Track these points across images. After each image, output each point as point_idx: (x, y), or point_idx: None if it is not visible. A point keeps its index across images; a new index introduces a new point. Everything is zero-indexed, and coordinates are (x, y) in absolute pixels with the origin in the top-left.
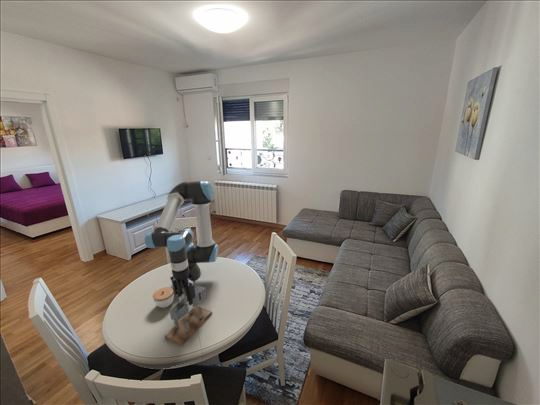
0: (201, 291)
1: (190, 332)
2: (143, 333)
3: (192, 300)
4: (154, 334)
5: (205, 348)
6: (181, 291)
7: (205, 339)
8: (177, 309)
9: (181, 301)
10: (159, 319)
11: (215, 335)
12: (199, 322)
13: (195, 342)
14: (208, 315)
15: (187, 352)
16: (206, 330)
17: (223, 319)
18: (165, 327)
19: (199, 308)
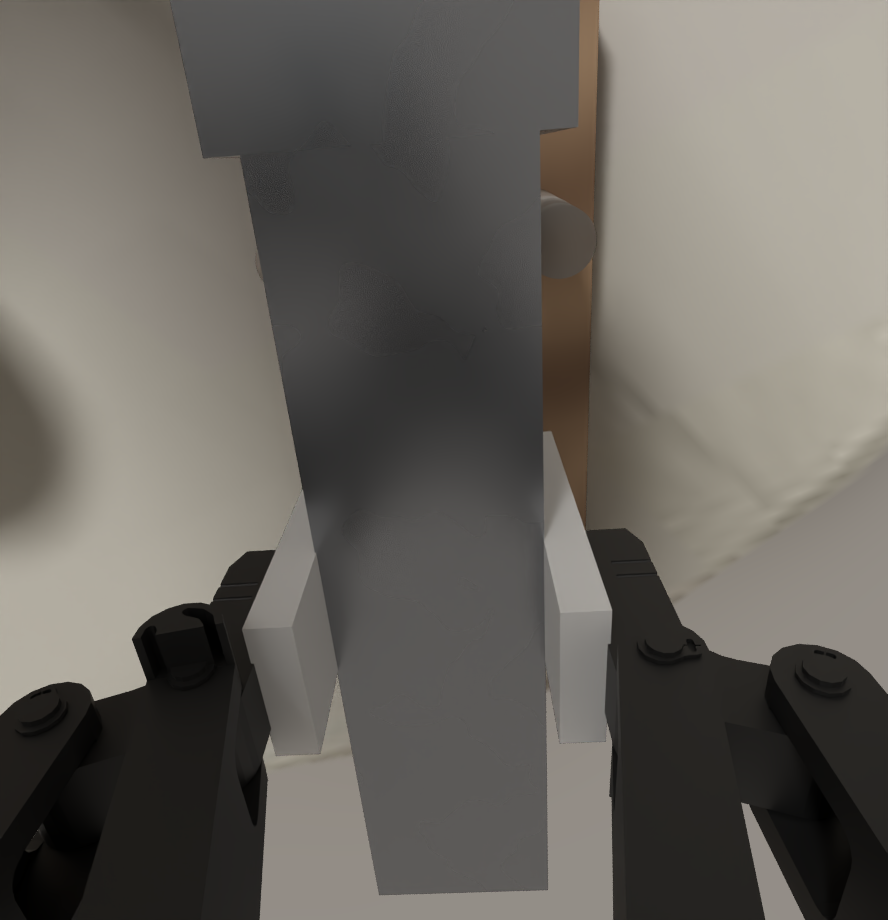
0: (576, 37)
1: (569, 465)
2: (107, 638)
3: (666, 596)
4: (209, 603)
5: (828, 496)
6: (233, 819)
7: (766, 418)
8: (500, 833)
9: (368, 670)
10: (37, 463)
11: (860, 322)
12: (566, 298)
13: (679, 492)
14: (593, 106)
15: (675, 594)
16: (703, 317)
17: (848, 21)
18: (216, 505)
19: (547, 245)
